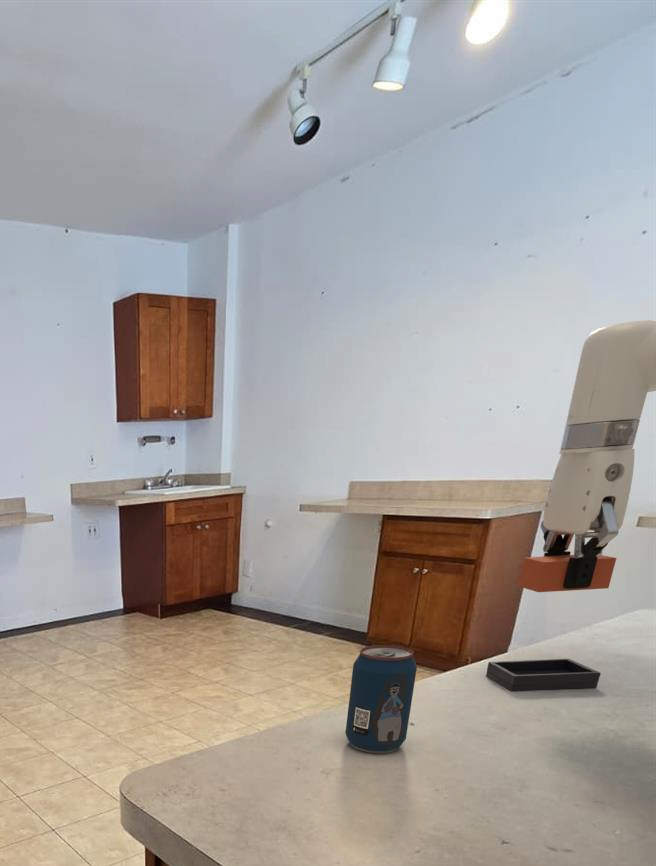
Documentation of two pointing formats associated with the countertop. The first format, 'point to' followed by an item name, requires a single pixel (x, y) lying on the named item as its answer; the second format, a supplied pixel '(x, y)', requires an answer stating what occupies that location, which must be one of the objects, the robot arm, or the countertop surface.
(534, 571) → the red brick
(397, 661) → the soda can
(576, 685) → the black rectangular tray
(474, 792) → the countertop surface
